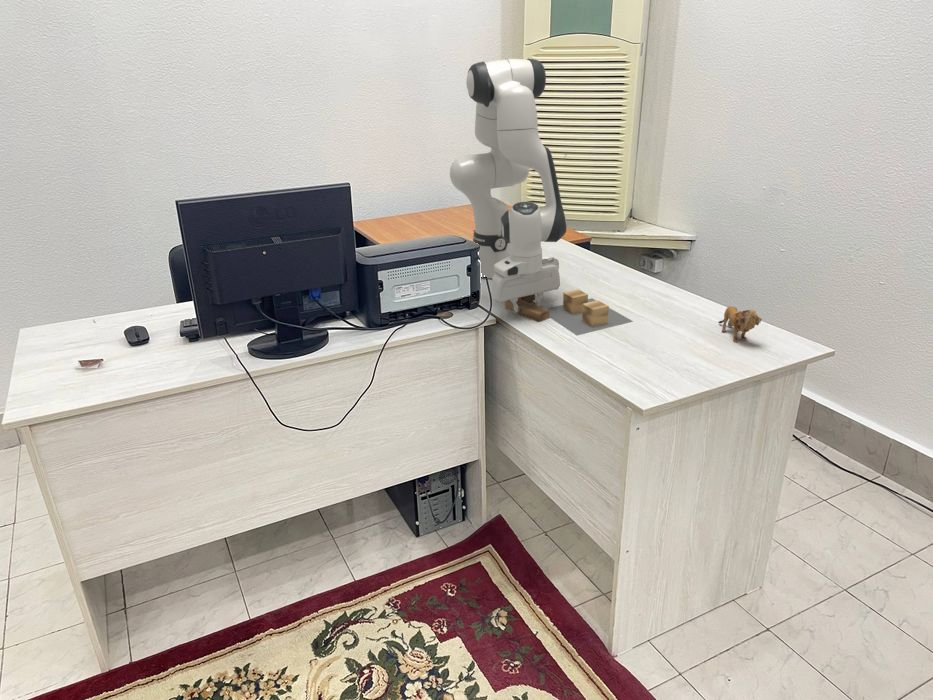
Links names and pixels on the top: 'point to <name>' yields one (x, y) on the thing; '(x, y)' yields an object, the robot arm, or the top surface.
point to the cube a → (574, 301)
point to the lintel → (529, 310)
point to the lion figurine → (740, 321)
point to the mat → (579, 326)
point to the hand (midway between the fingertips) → (526, 309)
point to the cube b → (595, 313)
